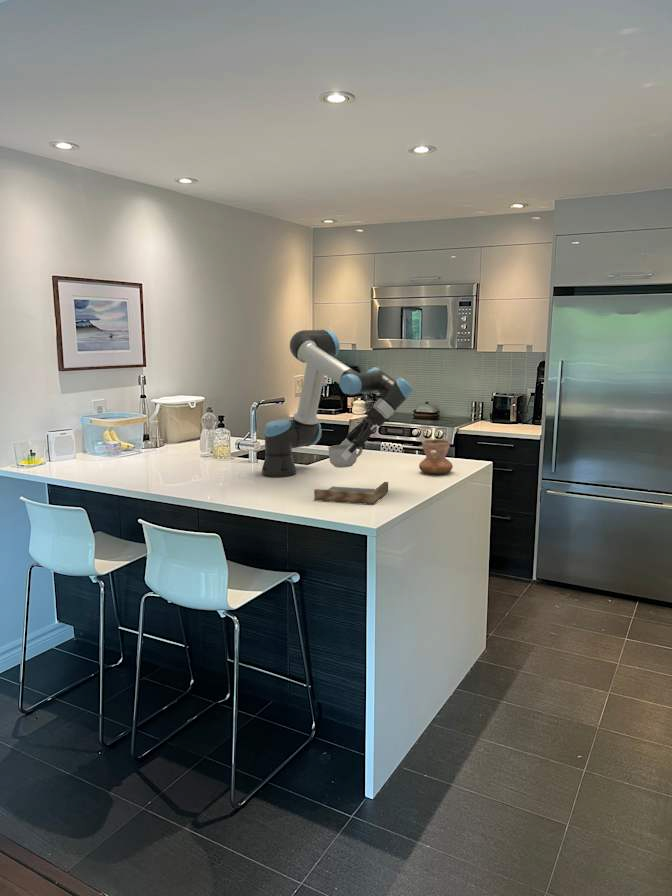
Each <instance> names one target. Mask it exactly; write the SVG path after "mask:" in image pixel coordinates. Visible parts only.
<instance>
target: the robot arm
mask: <svg viewBox="0 0 672 896" xmlns="http://www.w3.org/2000/svg"><path fill="white" fill-rule="evenodd" d="M340 346H341V345H340V340H339V338H338V336H337V334H336V333H335V332H334V331H333V330H328V329H309V330H308V329H305V330H304V329H303V330H302V329H301V330H299V331H297V332H296V333H294V334H293V336H292V337H291V339H290V341H289V349H290V352H291V354H292V356H293V357H294V358H295V359H296V360H298V361H299V362H301V363H302V364H306V367H305V370H304V377H303V381H302V388H301V392H300V396H299V403H298V408H297V412H296V413H294V414H293V416H292V421H291V420H289V419H277V420H272V421H269V422H267V423H266V424H265V425H264V433H263V434H264V449H265V450H264V452H265V455H264V456H265V457H264V458H265V459H264V461H263V465H262V469H261V474H262V475H263V476H264V477H268V478H269V477H270V478H286V477H291V476H295V475H296V474H297V467H296V465H295V464H296V463H295V461H294V459H293V452H292V451H293V449H297V448H304V447H305V448H307V447H310V446H314V445H316V444H317V443H318V442H319V441H320V439H321V438H322V434H323V433H322V432H323V431H322V425H321V423H320V422H319V421H320V420H319V418H318V417H317V416H318V415H317V413H318V408H319V405H320V399H321V395H322V389H323V385H324V380H325V376H326V377H328V378H329V379H330V380H333V381H334V382H335V383H337V384H338V385H339V388H340V389H341V392H342V393H344V394H345V395H356V394H357V395H358V394H369V393H378V394H379V395H381V396H380V398H378V400H377V401H375V403H374V404H373V407H370V408H369V409H368V410H367V412H366V413H365V414H366V415H365V416H367V417H368V418H367V419H365V418H363V419H362V420H361V421H360V422H359V423H358V424H357V425H356V426H355V427H354V428H352V430H350V432H348V434H346V438H345V439H344V440H343V441H342V442H341V443H340V444H339V445H350V446H349V447H348V448H347V449H346V450H345V451H344V452H343V454H342V455H341V457H342V458H343V459H345V460H347V459H348V458H349V457H350V456H351V455H352V454H353V453H354V452H355V451H357V450H358V449H359V447H362V448H363V447H364V446H363V445H364V444H365V443H366V442H367V441H368V439H369V438H370V436H371V435H372V434H373V433H374V432H375V431H376V430H377V428H378V427H379V428H380V427H382V426H383V425H384V424H385V422H386V421H387V419H389V418H390V417H391V416H394V413H395V412H396V411H397V409H398V408H399V407H400V406H401V405H403V403H404V402H405V401H406V400H408V398H409V397H410V395H411V394H412V393H413V392H414V391H413V389H414V388H413V387H412V385H411V384H410V383H409V382H408V380H406V379H404V378H402V377H398V378H397V379H396V380H395V379H394V378H392V377H391V376H390V375H389V374H387V373H386V372H385V371H384V370H383V369H380V368H379V367H371V368H370V369H368V370H367V372H357V371H356V370H354V369H352V368H351V367H349V366H348V365H346V364H345V363H343V362H342V361H340V360H338V359H337V358H335V357H336V356H338V354H339V353H340V348H341V347H340ZM377 426H378V427H377Z"/></svg>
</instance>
